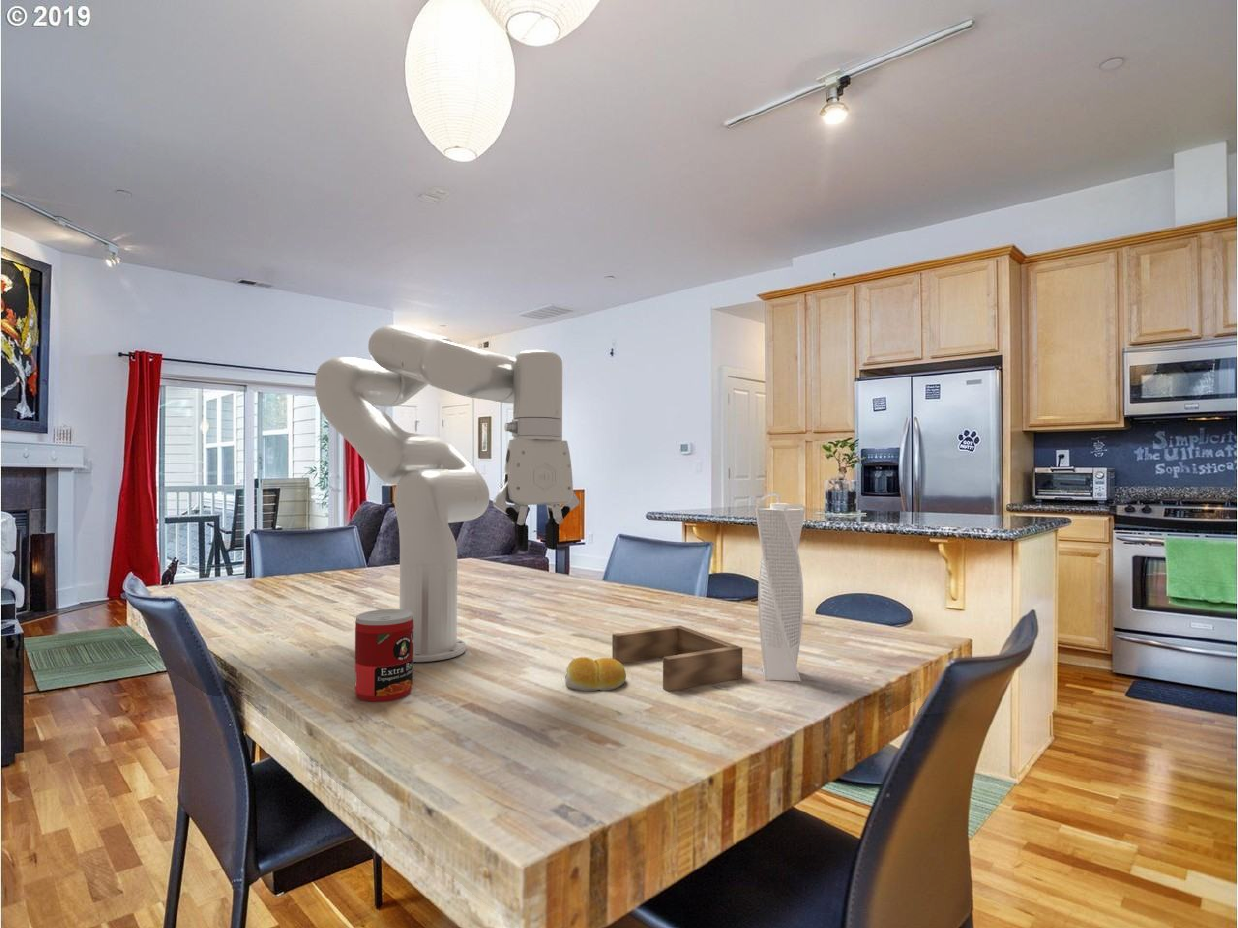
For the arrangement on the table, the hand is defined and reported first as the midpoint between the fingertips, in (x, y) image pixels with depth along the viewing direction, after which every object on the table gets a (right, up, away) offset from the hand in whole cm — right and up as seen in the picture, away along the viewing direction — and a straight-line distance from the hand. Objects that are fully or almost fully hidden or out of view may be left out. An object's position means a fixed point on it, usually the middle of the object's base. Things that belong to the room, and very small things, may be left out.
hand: (537, 548), depth 100 cm
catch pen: (+21, -19, +2) cm, 29 cm away
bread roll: (+9, -20, -4) cm, 22 cm away
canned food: (-20, -19, -9) cm, 29 cm away
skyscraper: (+38, -20, 0) cm, 42 cm away
